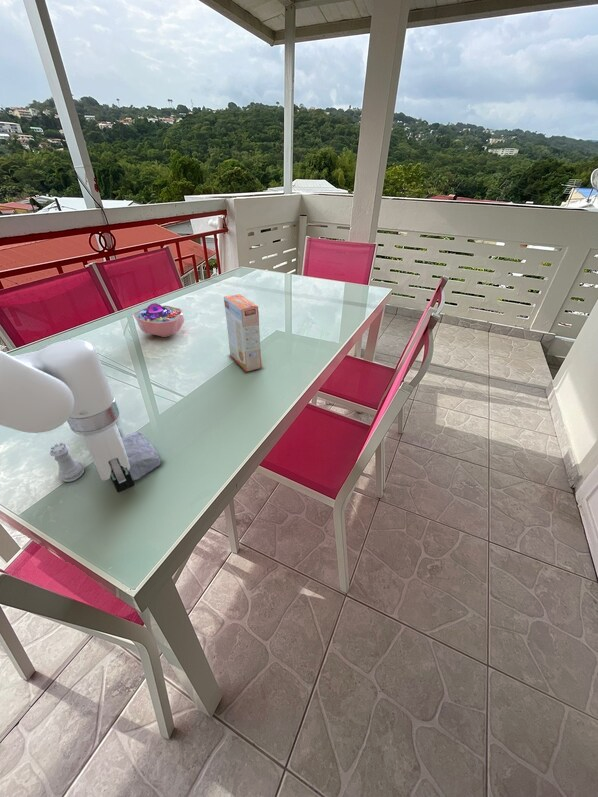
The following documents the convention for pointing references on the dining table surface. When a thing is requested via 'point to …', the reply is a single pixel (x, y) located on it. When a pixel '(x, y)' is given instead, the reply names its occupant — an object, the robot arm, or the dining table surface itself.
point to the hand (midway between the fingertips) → (125, 486)
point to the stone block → (140, 455)
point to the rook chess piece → (66, 463)
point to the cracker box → (243, 331)
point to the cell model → (160, 320)
